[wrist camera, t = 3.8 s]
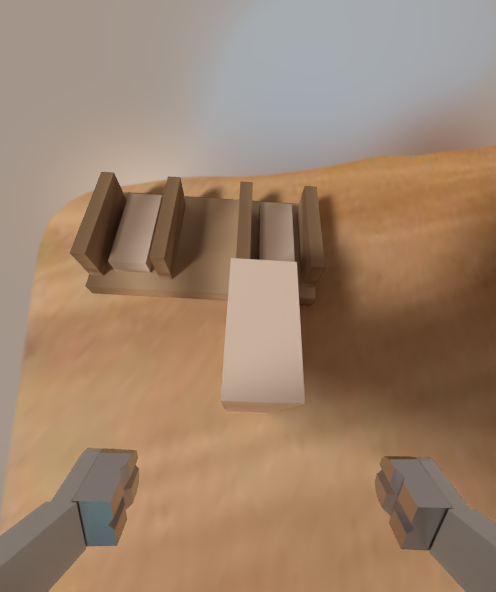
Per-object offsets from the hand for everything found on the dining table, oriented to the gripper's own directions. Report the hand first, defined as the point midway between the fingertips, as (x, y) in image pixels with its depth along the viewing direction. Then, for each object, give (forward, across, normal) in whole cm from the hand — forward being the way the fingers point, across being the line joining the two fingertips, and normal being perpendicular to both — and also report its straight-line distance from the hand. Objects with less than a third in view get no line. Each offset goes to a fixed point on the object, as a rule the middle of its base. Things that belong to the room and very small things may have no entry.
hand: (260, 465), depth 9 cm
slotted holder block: (+18, +4, -4) cm, 19 cm away
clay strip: (+10, 0, +3) cm, 11 cm away
